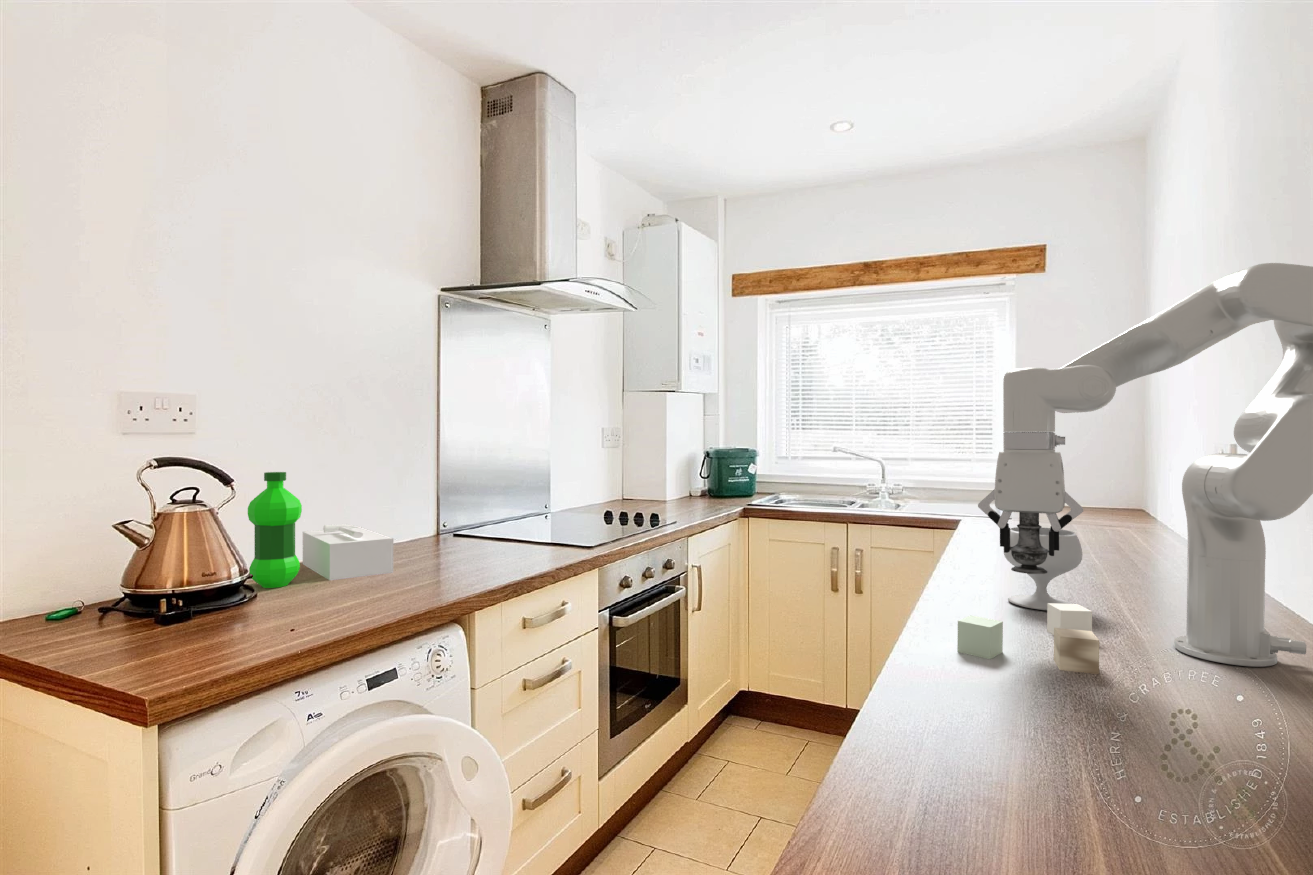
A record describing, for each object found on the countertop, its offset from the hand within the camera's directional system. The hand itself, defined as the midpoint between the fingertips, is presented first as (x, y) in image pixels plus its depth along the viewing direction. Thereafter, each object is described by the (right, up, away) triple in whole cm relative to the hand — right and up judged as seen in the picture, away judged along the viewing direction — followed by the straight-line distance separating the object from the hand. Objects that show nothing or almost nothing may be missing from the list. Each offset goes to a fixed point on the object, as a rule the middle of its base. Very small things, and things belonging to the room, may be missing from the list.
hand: (1029, 552), depth 115 cm
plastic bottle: (-146, -14, +40) cm, 152 cm away
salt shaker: (0, -3, 0) cm, 3 cm away
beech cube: (+1, -15, -11) cm, 19 cm away
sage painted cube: (-10, -15, -4) cm, 19 cm away
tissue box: (-139, -14, +59) cm, 152 cm away
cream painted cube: (+9, -15, +5) cm, 19 cm away
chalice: (+16, -15, +26) cm, 34 cm away
